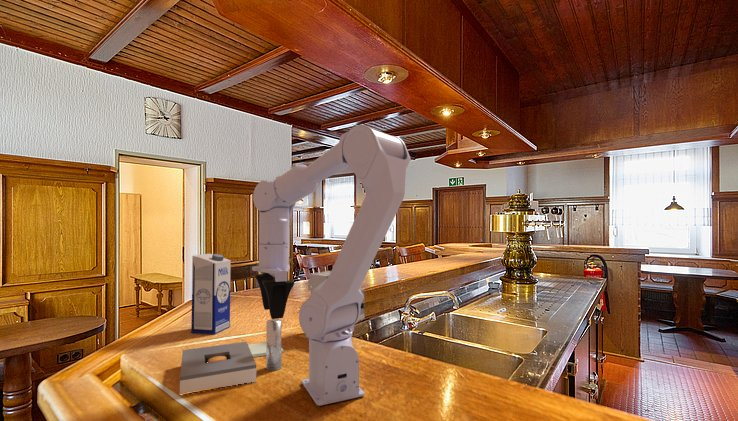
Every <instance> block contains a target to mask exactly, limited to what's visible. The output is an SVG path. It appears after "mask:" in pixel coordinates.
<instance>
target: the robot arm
mask: <svg viewBox="0 0 738 421" xmlns="http://www.w3.org/2000/svg"><path fill="white" fill-rule="evenodd" d="M407 148H408V147H407V146H406V144H405V141H403V140H402V139H401V138H400V137H398V136H395V135H390V134H388V133H385V132H382V131H379V130H377V129H373V128H371V127H370V126H368V125H365V124H359V125H355V126H354V127H352V128H351V129H350V130H348V131H347V132H344V133H342V134H341V135H340V138H339V140H338V143H336V144H334V145H333V146H332V147H331V148H330V149H328V150H327V151H326V152H324V153H323V154H321V155H320V156H319V157H318V158H316V159H315V160H314V161H312V162H310V163H309V165H306V164H301V163H294V164H292V165H291V166H290V168H291V169H289V170H287V171H286V172H285V173H283V174H282V175H277V176H276V177H275V179H274V180H270V181H268V180H260V181H259V182H258V183H257V185H256V186H255V188H254V190H253V194H252V195H253V197H252V200H253V204H254V206H255V208H256V209H257V211H259V217H258V218H259V220H258V221H259V222H258V223H259V224H258V225H259V227H258V237H259V238H258V265H257V266H256V265H255V266H252V267H251V270H252V271H253V272H262V273H259V274H258V273H257V274H255V275H254V277H255V279H256V281H257V284H258V286H259V290H260V294H261V299H262V306H263V308H264V310H265V311H268V310H269V314H270V318H271V319H283V318H284V315H285V312H286V307H287V302H288V298H289V295H290V293H291V292H292V289H293V287H294V285H295V281H294V279H293V280H292V279H291V280H289V279H288V272H289V271H290V269H291V266H290V265H289V264H290V261H289V260H290V220H291V219H292V217H293V210H294V208H295V206H296V203H297V202H299V201H301V200H302V199H304V198H306V197H307V196H309V195H312V194H313V193H315V192H316V191H317V189H318V185H319V182H322V181H324V180H326V179H327V178H330V177H332V176H334V175H336V174H338V173H340V172H342V171H344V170H346V169H348V168H350V169H351V170H352V172H353V173H354V175H355V177H356V178H357V180H358V181H359V182H360V184H361V185H362V187H363V189H364V191H365V196H364V199H363V201H362V203H361V206H360V207H359V209H358V212H357V213H356V216H355V219H354V221H353V222H352V225H351V227H350V229H349V232H348V234H347V236H346V238H345V240H344V243H343V245H342V247H341V249H340V251H339V253H338V256H337V258H336V259H335V262H334V264H333V266H332V269H331V270H330V271H331V273H330V275H329V277H328V278H327V279H326V280H325V281H324V282H323V283H321V284H320V285H319V286H318V287H316V288H315V289H314V290H313V292H312V294H311V293H310V296H309V297H308V298H307V299H306V300H305V301H303V302H302V303H301V306H300V307H299V310H298V321H299V326H300V328H301V330H302V332H303V333H304V334H305V338H307V339H308V354H309V355H308V378H305V379H302V380H301V384H302V385H303V387H304V388H305V390H306V391H307V393H308V394H309V396H310V397H311V398H312V400H313V402H314V403H315V405H316V406H318V407H320V406H324V405H328V404H334V403H340V402H343V401H348V400H351V399H356V398H360V397H364V396H365V391H364V390H363V389H362V388H361V387H360V357H359V353H358V351H357V350H356V349H355V348H354V345H353V342H352V336H353V334H352V333H353V332H355V331H354V330H355V328H354V327H355V325H356V324H357V323H358V322H359V321H358V320H359V317H360V309H361V303H362V301H363V299H364V300H365V295H364V296H363V294H362V292H361V290H360V289H361V287H362V284H363V283H364V280H365V278H366V276H367V274H368V273H369V270H370V268H371V266H372V264H373V262H374V260H375V258H376V256H377V254H378V252H379V250H380V247H381V246H382V243H383V241H384V239H385V238H386V236H387V233H388V231H389V229H390V227H391V225H392V223H393V221H394V219H395V217H396V215H397V213H398V210H399V209H400V207H401V205H402V203H403V200H404V197H405V194H406V193H405V191H406V190H405V189H406V174H407V167H408V166H409V164H410V161H411V160H412V159H411V155H410V154H409V153H410V152H409V151H408V149H407Z"/></svg>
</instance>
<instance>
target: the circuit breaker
mask: <svg viewBox="0 0 738 421" xmlns="http://www.w3.org/2000/svg"><path fill="white" fill-rule="evenodd" d="M331 271H332V270H327V271H320V272H312V273H309V274H308V276H309V279H308V280H307V290H308V291H310V295H311V294H312V292H313V290H314V289H315V288H316V287H318V286H319V285H320V284H321V283H323V282H324V281H325V280H326V279H327V278H328V277H329V275H330V273H331ZM360 290H361V292H362V294H363V296H364V297H365V288H360ZM363 320H365V298H364V299H363V301H362V303H361V309H360V317H359V320H358V321H357V322H360V321H363Z"/></svg>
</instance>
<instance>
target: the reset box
mask: <svg viewBox="0 0 738 421" xmlns="http://www.w3.org/2000/svg"><path fill="white" fill-rule="evenodd" d="M248 345H249V344H248V342H247V341H240V342H233V343H227V344H220V345H219V344H218V345H210V346H206V347H204V346H203V347H195V348H188V349H182V355H181V364H180V372H179V374H180V375H179V395H180V394H183V393H187V392H193V391H198V390H204V389H209V388H216V387H217V388H218V387H225V386H231V387H233V386H232V385H236V386H239V385H238V384H242V385H245V384H244V383H247V384H252V383H257V363H256V360H255V357H253V356H252V353H251V351H250V349H249V346H248ZM216 356H225V357H227V360H221V361H215V362H208V360H209V359H210V358H212V357H216ZM207 362H208V363H207ZM251 382H252V383H251ZM225 388H226V387H225Z"/></svg>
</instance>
